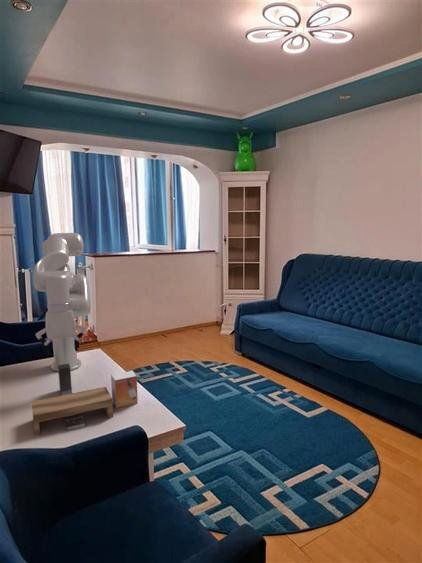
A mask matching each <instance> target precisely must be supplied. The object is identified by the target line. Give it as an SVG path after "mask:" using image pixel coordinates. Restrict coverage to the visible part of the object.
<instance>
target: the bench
mask: <svg viewBox="0 0 422 563" xmlns="http://www.w3.org/2000/svg"><path fill="white" fill-rule="evenodd" d="M113 405H114V404H113V402H112V395H111V394H110V391H109V390H108V387H107V386H104V387H103V386H102V387H98V388H93V389H88V390H82V391H76V392H72V394H67V395H57V396H52V397H46V398H43V399H42V398H41V399H38V400H32V401H31V410H32V420H33V421H32V422H33V432H34V436H38V435H41V431H40V430H41V429H40V422H45V421H49V420H50V421H51V420H54V419H59V418H63V417H67V416H68V417H70V416H69V415H73V414H77V415H79V414H81V413H87V412H90V411H97V410H100V409H104V411H105V413H106V415H107V417H108V418H109V419H110V418H114V410H113V409H114V408H113V407H114V406H113ZM73 416H74V415H73Z"/></svg>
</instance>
